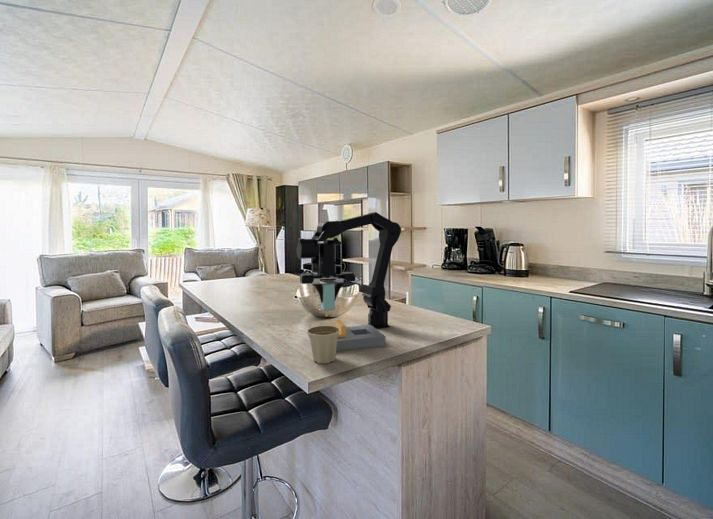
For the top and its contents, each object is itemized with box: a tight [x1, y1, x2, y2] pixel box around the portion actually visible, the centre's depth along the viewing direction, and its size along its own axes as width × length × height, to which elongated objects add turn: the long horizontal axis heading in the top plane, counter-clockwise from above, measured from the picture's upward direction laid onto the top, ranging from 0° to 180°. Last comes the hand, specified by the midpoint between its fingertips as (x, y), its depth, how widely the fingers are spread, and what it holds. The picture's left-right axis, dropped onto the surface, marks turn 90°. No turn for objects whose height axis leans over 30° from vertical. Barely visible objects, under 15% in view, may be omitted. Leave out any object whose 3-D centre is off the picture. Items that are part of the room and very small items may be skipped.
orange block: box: [334, 319, 347, 338], centre depth 116 cm, size 8×8×4 cm
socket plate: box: [336, 324, 386, 352], centre depth 118 cm, size 20×14×3 cm
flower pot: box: [306, 325, 340, 364], centre depth 102 cm, size 9×9×9 cm
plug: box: [320, 282, 336, 312], centre depth 127 cm, size 4×4×9 cm
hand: (327, 302), depth 127 cm, fingers closed on plug, 4 cm apart
